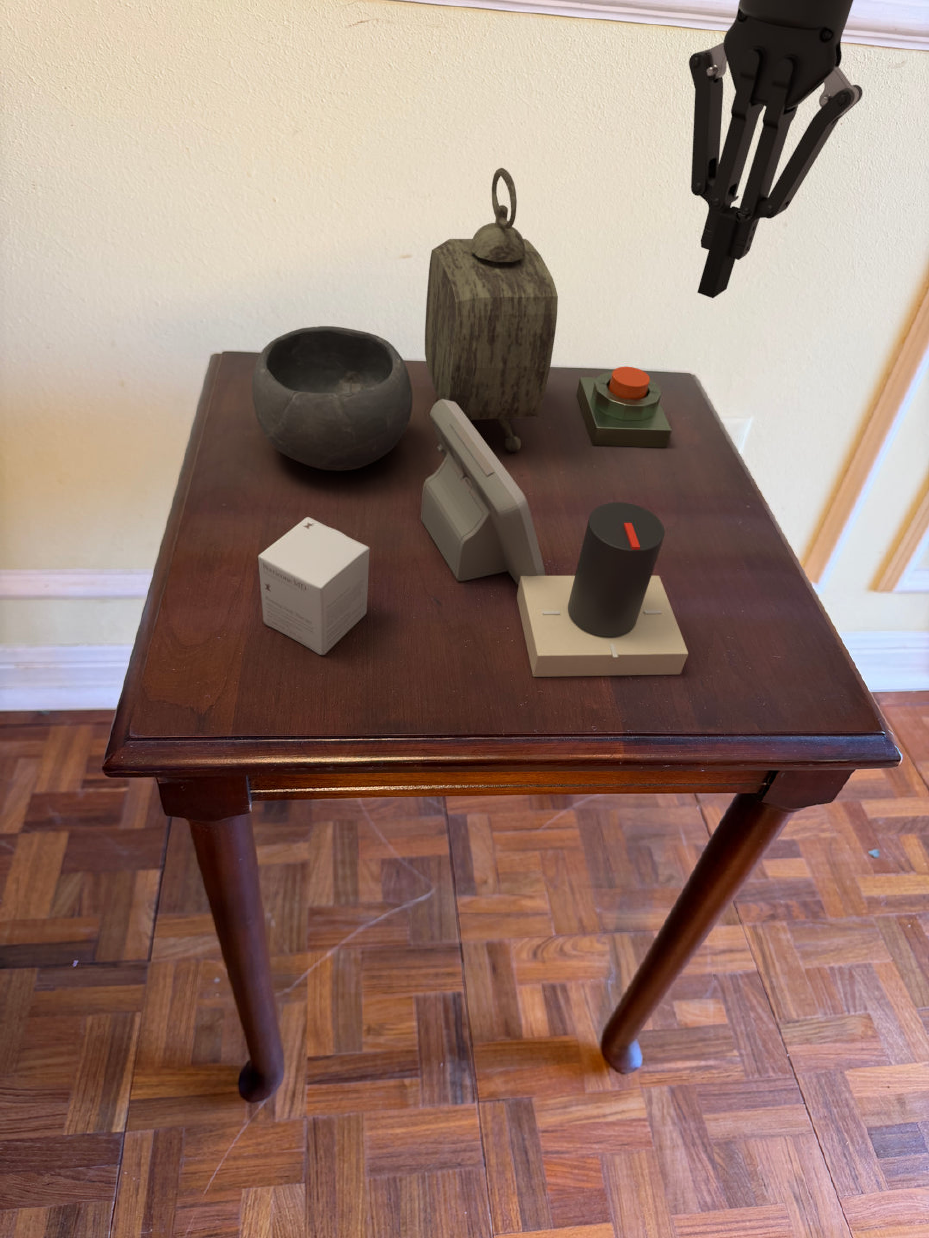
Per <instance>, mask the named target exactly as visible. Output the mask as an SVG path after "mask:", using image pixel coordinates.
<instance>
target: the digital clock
mask: <svg viewBox="0 0 929 1238" xmlns="http://www.w3.org/2000/svg"><path fill="white" fill-rule="evenodd" d="M429 416H430V420H431V424H432V426H433V430H434V432H435V436H436V439H437V441H438V446H437V447H436V448H437V450H438V451H439V453H442V456H443V460H442V462H441V464H440V465H439V467H438V468H437V469H436V471H435V472H433V474H431V475H430V476H428V477H427V478H426V479H425V481H424V482H423V487H422V493H421V507H420V520H421V522H422V524H423V526H424V527H425V529H426V531H427V533H428V534H429V536H430V537H431V539H432V540H433V543H435V545H436V547H437V549H438V550H439V552H440V554H441V555H442V557H443V559H444V561H445V562H446V564H447V565H448V567H449V569H450V570H451V573H452V574H453V575H454V577H455V579H456V580H457V582H465V581H470V580H474V579H479V578H483V577H488V576H492V575H496V574H500V573H504V572H505V573H506V572H508V573H509V574H510V576H511V578H512V579H513V580H514V582H515V584H516V585H517V586H518V587H519V582H520V577H521V576H546V569H545V566H544V561H543V558H542V557H543V556H542V553H541V550H540V547H539V546H540V545H539V542H538V538H537V534H536V529H535V525H534V521H533V517H532V514H531V510H530V506H529V503H528V499H527V498H526V496H525V494H524V492H523V491H522V490H521V489H520V487H519V486H518V484H517V483H516V481H515V480H514V479H513V477H512V476H511V475H510V473H509V472H508V471H507V469H506V468H505V466H504V465H503V464H502V462H501V461H500V460H499V458H498V457H497V456H496V454H495V453H494V452H493V450H492V449H491V448H490V446H489V445H488V444H487V442H486V441H485V440H484V438H483V437H482V436H481V434H480V433H479V431H478V430H477V429H476V427H475V426H474V424H472V422H471V420H469V419H468V418H467V417H466V415H465V414H464V413H463V411H462V410H461V409H460V407H459V406H458V405H457V404H456V403H455V402H453V401H449V400H444V399H441V400H439V399H438V401H437V400H436V402H435V403H434V404H433V406H432V407H431V410H430V413H429Z"/></svg>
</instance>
